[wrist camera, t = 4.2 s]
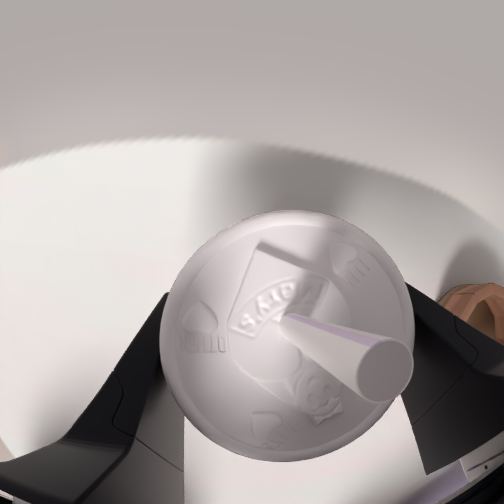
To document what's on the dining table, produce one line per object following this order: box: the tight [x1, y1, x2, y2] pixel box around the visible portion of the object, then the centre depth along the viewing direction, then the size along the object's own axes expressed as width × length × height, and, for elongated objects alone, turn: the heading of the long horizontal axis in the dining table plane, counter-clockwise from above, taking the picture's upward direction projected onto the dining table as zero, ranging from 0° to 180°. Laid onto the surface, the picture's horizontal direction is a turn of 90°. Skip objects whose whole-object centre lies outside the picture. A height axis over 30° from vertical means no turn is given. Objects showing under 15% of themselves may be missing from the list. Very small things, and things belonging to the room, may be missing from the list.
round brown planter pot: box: [438, 283, 504, 345], centre depth 16 cm, size 10×10×3 cm
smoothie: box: [160, 210, 415, 462], centre depth 9 cm, size 6×6×14 cm
